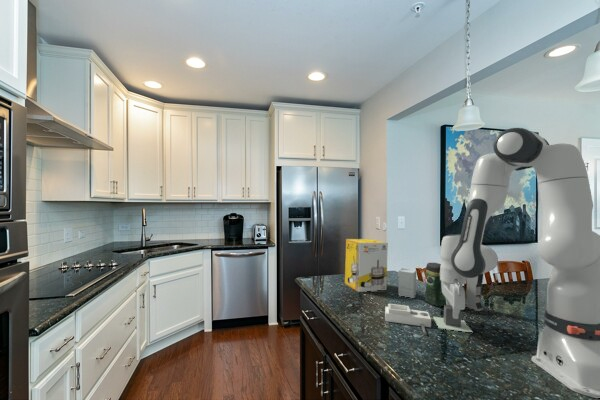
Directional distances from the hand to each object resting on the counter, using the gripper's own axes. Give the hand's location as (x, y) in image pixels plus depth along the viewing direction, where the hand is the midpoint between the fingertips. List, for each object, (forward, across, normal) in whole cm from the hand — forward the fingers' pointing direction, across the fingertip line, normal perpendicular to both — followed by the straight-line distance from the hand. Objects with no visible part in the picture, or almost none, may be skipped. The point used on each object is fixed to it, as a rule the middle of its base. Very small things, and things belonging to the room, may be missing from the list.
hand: (452, 313), depth 109 cm
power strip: (+4, -5, +16) cm, 17 cm away
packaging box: (+4, +41, +34) cm, 53 cm away
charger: (+4, 0, 0) cm, 4 cm away
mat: (+4, 0, 0) cm, 4 cm away
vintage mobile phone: (+4, +23, -14) cm, 27 cm away
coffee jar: (+4, +25, +1) cm, 25 cm away
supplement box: (+4, +33, +13) cm, 36 cm away
